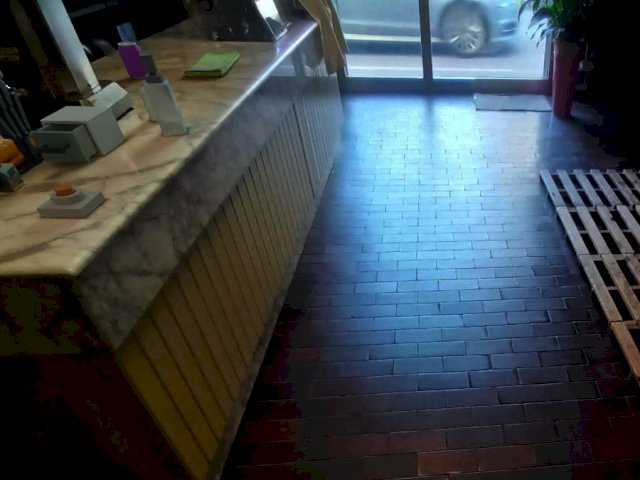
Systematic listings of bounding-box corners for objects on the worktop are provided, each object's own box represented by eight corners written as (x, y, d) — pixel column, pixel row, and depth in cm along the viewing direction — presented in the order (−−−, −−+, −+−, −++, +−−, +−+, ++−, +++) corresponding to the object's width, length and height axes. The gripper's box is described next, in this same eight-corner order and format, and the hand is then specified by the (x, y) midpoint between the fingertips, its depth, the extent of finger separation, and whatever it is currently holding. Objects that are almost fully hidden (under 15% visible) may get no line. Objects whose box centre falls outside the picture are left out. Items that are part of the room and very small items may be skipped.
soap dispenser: (186, 125, 173) (158, 49, 158) (186, 134, 168) (156, 56, 152) (165, 127, 171) (134, 50, 156) (163, 136, 166) (131, 57, 150)
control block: (85, 217, 125) (76, 201, 122) (41, 217, 124) (31, 201, 121) (105, 199, 132) (97, 184, 129) (64, 199, 131) (55, 184, 128)
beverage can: (145, 73, 217) (131, 40, 209) (154, 77, 214) (141, 43, 206) (126, 77, 212) (111, 43, 204) (135, 80, 209) (121, 46, 201)
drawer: (79, 167, 143) (63, 138, 138) (36, 167, 142) (18, 137, 137) (109, 146, 155) (95, 118, 150) (69, 145, 155) (54, 117, 149)
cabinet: (104, 155, 152) (86, 121, 146) (59, 155, 151) (39, 120, 145) (125, 139, 162) (110, 106, 155) (83, 139, 161) (66, 106, 154)
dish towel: (184, 77, 215) (181, 68, 213) (206, 57, 241) (203, 49, 238) (223, 77, 218) (220, 68, 215) (241, 57, 243) (238, 49, 241)
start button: (70, 197, 124) (66, 190, 123) (54, 197, 124) (50, 190, 123) (78, 191, 127) (74, 184, 126) (62, 191, 126) (58, 184, 125)
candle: (146, 120, 176) (132, 87, 169) (157, 115, 180) (144, 83, 173) (161, 121, 175) (148, 89, 168) (171, 117, 179) (159, 85, 172)
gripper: (-29, 67, 115) (35, 173, 131) (8, 54, 124) (64, 154, 140) (-65, 67, 114) (4, 173, 130) (-25, 54, 123) (35, 154, 140)
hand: (35, 163), depth 135 cm, fingers closed
